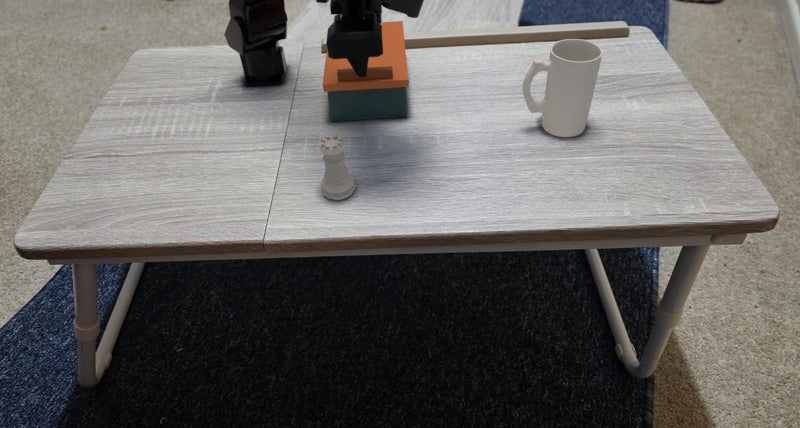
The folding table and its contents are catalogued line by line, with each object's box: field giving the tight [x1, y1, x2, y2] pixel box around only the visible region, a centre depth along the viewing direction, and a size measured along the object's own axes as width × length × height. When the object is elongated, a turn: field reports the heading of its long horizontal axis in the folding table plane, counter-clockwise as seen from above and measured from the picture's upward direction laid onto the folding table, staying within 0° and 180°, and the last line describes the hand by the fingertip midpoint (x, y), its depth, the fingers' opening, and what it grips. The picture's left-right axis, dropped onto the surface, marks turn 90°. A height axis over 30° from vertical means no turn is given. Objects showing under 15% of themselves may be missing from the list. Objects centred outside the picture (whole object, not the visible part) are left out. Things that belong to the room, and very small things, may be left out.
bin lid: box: [322, 20, 410, 93], centre depth 91 cm, size 20×12×3 cm, turn 2°
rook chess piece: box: [318, 134, 356, 201], centre depth 73 cm, size 4×4×8 cm
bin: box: [326, 87, 408, 122], centre depth 93 cm, size 19×12×6 cm, turn 2°
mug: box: [522, 38, 604, 138], centre depth 81 cm, size 10×7×12 cm, turn 92°
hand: (362, 75), depth 76 cm, fingers closed
